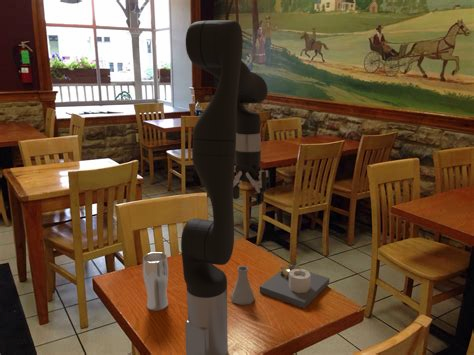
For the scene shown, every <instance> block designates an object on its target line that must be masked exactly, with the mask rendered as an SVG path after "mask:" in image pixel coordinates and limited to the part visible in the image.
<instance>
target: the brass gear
mask: <svg viewBox="0 0 474 355" xmlns="http://www.w3.org/2000/svg"><path fill="white" fill-rule="evenodd" d="M293 269H303V270H305V269H304V268H302V267H300V266H299V265H298V264H293V263H292V264H291V263H290V264H285V265H282V266H280V269H279V271H280V275H282V276H284V278H285V279H288V278H289V272H290V271H291V270H293Z"/></svg>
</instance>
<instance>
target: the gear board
mask: <svg viewBox="0 0 474 355" xmlns="http://www.w3.org/2000/svg"><path fill="white" fill-rule="evenodd" d="M308 272H309V273H310V275H311V282H310V289H309V290H308V291H307V292H303V293H297V292H294V291H291V290H290V288H289V286H288V284H289V278H288V279H285V278H284V276H282V275H280V270H279V271H278V272H277V273H275V274H274V275H273V276H271V277H270V278H269V279H267V281H265V282H264V283H262V284H261V285H260V286H259V293H261V294H264V295H267V296H269V297H271V298H274V299H277V300H280V301H283V302H285V303H288V304H289V305H290V304H291V305H293V306H295V307H299V308H301V309H306V308H307V306H308V305H310V304H311V302H312V301H313V300H315V299H316V298H317V296H319V295H320V293H322V291H324V290H325V289H326V288H327V287H328V286H329V285H330V277H327V276H324V275H320V274H318V273H314V272H310V271H308ZM298 277H303V276H301V275H298ZM318 294H319V295H318Z"/></svg>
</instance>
